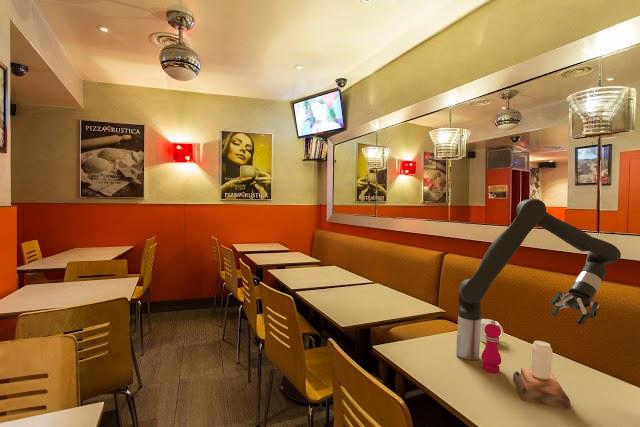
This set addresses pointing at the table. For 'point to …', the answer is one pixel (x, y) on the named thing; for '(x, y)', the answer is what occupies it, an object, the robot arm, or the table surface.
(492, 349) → the pepper mill
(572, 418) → the table surface
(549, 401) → the brick plinth
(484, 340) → the mug
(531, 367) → the beverage can
